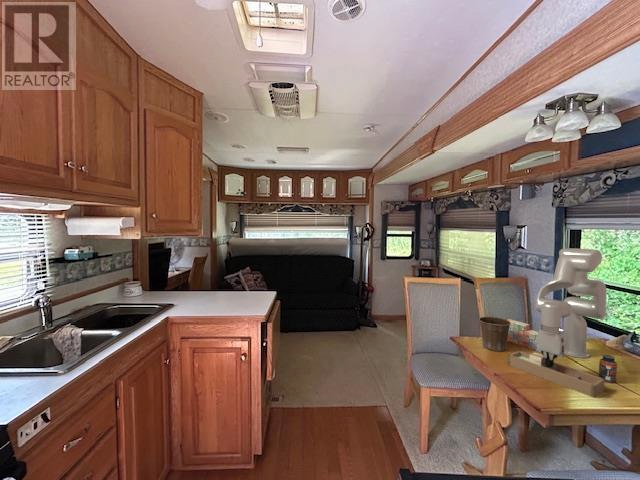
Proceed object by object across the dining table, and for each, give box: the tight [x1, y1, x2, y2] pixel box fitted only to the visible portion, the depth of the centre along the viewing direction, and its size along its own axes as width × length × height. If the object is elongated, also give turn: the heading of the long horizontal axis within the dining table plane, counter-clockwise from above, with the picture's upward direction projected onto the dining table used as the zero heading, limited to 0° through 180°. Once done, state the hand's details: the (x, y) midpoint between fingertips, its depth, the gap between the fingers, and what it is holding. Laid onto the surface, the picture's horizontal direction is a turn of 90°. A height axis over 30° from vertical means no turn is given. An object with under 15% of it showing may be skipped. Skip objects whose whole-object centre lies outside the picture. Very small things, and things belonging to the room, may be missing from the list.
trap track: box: [507, 350, 606, 398], centre depth 143 cm, size 11×34×5 cm, turn 31°
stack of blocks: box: [507, 318, 539, 352], centre depth 181 cm, size 21×6×12 cm, turn 26°
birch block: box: [529, 352, 546, 367], centre depth 148 cm, size 5×5×5 cm
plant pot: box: [478, 316, 511, 352], centre depth 176 cm, size 16×16×16 cm
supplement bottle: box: [598, 354, 618, 384], centre depth 139 cm, size 6×6×11 cm
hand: (549, 366), depth 144 cm, fingers closed
